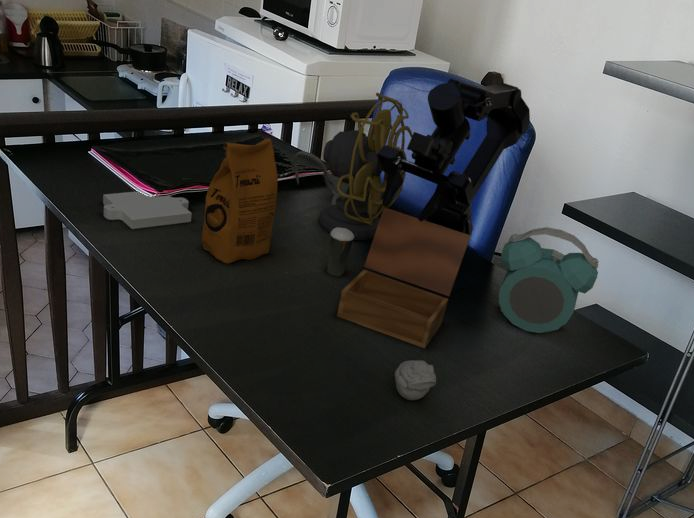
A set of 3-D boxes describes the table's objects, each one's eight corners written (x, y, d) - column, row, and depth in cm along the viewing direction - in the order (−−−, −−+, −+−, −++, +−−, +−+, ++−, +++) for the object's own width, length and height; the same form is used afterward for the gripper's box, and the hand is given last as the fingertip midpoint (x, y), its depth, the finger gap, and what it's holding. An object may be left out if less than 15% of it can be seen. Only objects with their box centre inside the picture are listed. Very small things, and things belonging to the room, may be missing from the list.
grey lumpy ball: (402, 413, 112) (412, 375, 108) (382, 386, 117) (392, 348, 113) (437, 410, 114) (448, 372, 111) (416, 383, 120) (427, 346, 116)
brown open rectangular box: (424, 348, 129) (432, 322, 127) (336, 316, 133) (342, 290, 131) (441, 323, 138) (448, 298, 136) (358, 294, 142) (363, 269, 139)
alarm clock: (574, 328, 147) (610, 234, 137) (570, 349, 139) (608, 251, 129) (488, 300, 150) (518, 206, 140) (479, 320, 142) (510, 222, 132)
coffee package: (193, 245, 146) (203, 134, 136) (245, 236, 155) (258, 130, 144) (223, 267, 141) (235, 153, 130) (275, 256, 149) (291, 148, 138)
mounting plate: (171, 196, 165) (171, 188, 164) (201, 220, 157) (202, 211, 156) (91, 204, 154) (91, 195, 153) (119, 230, 146) (120, 221, 145)
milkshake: (347, 281, 146) (357, 233, 141) (321, 274, 146) (329, 226, 141) (352, 271, 150) (362, 225, 145) (326, 265, 150) (335, 218, 145)
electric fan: (350, 256, 156) (379, 111, 141) (231, 203, 168) (246, 65, 153) (409, 227, 176) (441, 98, 161) (299, 182, 188) (319, 57, 173)
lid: (470, 235, 134) (470, 235, 134) (383, 207, 137) (384, 207, 138) (449, 296, 135) (449, 296, 136) (363, 267, 139) (365, 267, 140)
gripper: (392, 100, 135) (347, 170, 133) (484, 133, 128) (438, 208, 126) (405, 136, 146) (363, 202, 143) (491, 169, 138) (448, 239, 136)
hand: (401, 212), depth 136 cm, fingers open, 7 cm apart
